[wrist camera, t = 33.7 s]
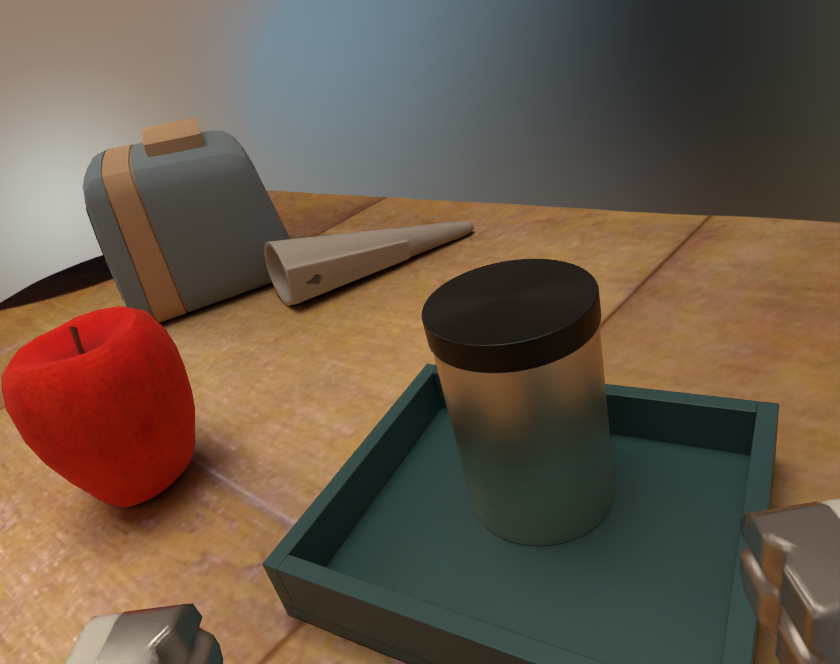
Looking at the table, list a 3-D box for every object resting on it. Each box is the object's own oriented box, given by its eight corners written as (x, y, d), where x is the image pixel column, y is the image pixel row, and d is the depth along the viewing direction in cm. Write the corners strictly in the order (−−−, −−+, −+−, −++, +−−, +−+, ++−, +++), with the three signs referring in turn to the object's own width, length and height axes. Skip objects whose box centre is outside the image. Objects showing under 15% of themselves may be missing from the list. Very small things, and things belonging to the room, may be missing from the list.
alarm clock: (142, 280, 71) (73, 140, 63) (280, 233, 74) (230, 95, 66) (137, 338, 57) (48, 168, 49) (307, 277, 60) (248, 109, 53)
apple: (193, 533, 33) (96, 364, 28) (49, 548, 34) (-68, 391, 29) (246, 425, 40) (178, 277, 35) (126, 441, 42) (44, 302, 37)
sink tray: (774, 460, 28) (779, 403, 27) (740, 800, 18) (744, 739, 16) (438, 408, 37) (426, 363, 36) (287, 614, 27) (261, 563, 26)
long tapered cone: (439, 182, 63) (258, 232, 55) (476, 199, 58) (284, 257, 51) (442, 234, 66) (271, 289, 58) (478, 255, 61) (296, 317, 54)
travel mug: (650, 489, 28) (638, 285, 23) (533, 577, 25) (491, 368, 20) (546, 422, 33) (518, 245, 28) (441, 488, 30) (390, 308, 26)
